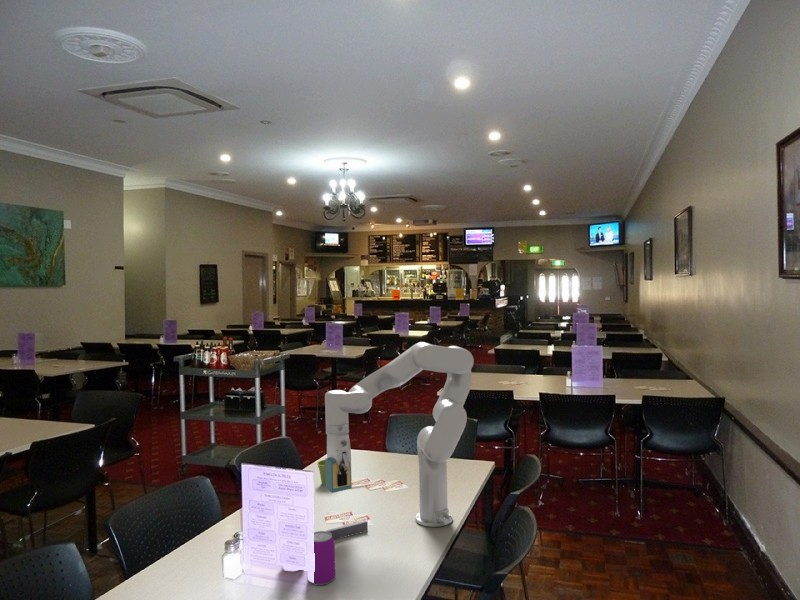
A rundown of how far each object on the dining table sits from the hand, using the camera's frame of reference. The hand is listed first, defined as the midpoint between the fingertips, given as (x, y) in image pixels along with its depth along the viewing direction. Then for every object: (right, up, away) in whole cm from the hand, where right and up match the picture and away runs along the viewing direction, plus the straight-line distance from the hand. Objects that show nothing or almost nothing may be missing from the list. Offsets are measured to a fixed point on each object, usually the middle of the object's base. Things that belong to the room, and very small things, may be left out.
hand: (338, 482), depth 190 cm
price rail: (+3, -15, -4) cm, 16 cm away
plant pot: (-9, -15, +46) cm, 49 cm away
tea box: (0, -2, 0) cm, 2 cm away
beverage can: (-1, -16, -33) cm, 37 cm away
